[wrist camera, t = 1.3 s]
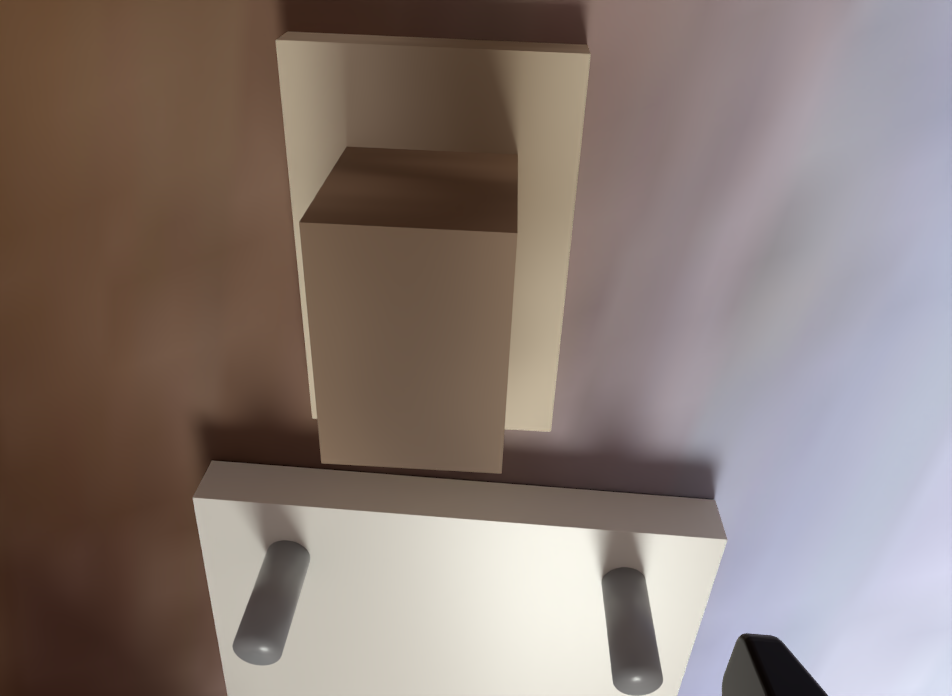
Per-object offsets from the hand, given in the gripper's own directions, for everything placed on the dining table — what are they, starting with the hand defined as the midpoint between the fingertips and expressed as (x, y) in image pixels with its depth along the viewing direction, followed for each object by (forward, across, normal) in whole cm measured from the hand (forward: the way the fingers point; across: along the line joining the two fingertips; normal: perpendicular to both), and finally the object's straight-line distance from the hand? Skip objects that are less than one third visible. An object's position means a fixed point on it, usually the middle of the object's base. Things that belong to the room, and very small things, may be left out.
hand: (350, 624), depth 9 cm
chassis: (+10, -1, +15) cm, 18 cm away
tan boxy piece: (+11, 0, 0) cm, 11 cm away
